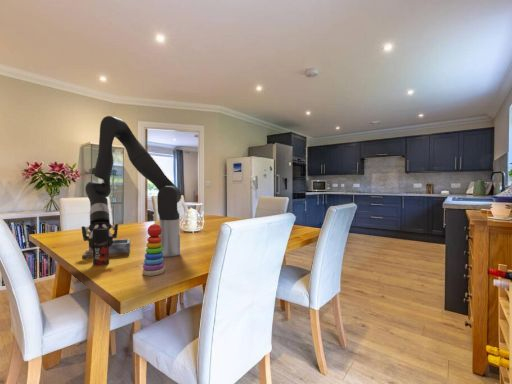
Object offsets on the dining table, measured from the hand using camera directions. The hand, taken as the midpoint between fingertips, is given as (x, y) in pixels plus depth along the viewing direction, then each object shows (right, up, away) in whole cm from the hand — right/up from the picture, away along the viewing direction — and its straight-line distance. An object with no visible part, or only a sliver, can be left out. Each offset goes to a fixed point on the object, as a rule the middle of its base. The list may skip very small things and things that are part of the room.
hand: (101, 246), depth 107 cm
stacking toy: (+25, -9, -9) cm, 28 cm away
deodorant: (-1, -8, +2) cm, 8 cm away
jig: (-8, -7, +18) cm, 21 cm away
